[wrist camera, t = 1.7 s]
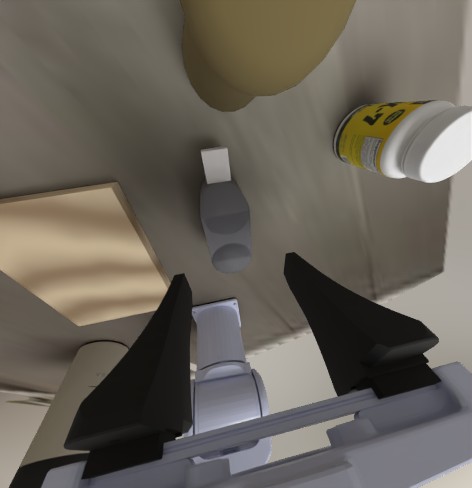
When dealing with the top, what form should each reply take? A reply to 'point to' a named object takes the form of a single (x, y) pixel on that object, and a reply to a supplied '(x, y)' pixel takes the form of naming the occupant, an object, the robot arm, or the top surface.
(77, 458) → the travel mug
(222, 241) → the connector
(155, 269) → the wooden board
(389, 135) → the supplement bottle
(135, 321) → the top surface
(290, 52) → the cork
